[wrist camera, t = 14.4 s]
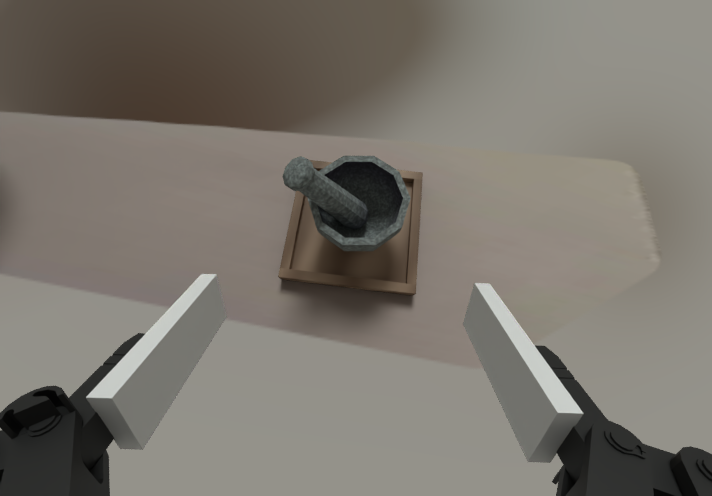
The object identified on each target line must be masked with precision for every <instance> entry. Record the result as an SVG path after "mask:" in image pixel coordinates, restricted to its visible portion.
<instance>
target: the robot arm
mask: <svg viewBox="0 0 712 496" xmlns="http://www.w3.org/2000/svg"><path fill="white" fill-rule="evenodd" d="M226 317H227V314H226V310H225V306H224V302H223V298H222V294H221V290H220V286H219V282H218V277H217V274H201V275H200V276H199V277H198V278H197V280H196V281H195V282H194V283H193V284H192V285H191V286H190V287H189V288H188V289H187V290H186V291H185V292H184V293H183V294H182V296H181V297H180V298H179V299H178V300H177V301H176V302H175V303H174V304H173V305H172V306H171V307H170V308H169V309H168V310H167V312H166V313H165V314H164V315H163V316H162V317H161V318H160V319H159V320H158V321H157V322H156V323H155V324H154V325H153V326H152V328H151V329H150V330H149V331H148V332H147V333H146V334H141V333H138V334H137V335H135V336H134V337H132V338H130V339H129V340H127V341H126V342H124V343H123V344H122V345H121V346H120V347H119V348H118V349H117V350H116V351H115V352H114V353H113V355H112V356H110V357H109V358H108V359H107V360H106V361H105V362H104V364H103V366H100V367H99V368H98V369H97V370H96V371H95V372H94V373H93V374H92V375H91V376H90V377H89V378H88V379H87V381H85V382H84V383H83V384H82V385H81V386H80V387H79V388H78V389H77V390H76V391H75V392H74V393H73V394H72V396H70V397H69V398H68V397H67V395H66V394H65V393H64V391H63V390H62V388H59V387H57V386H46V387H43V388H40V389H36V390H33V391H31V392H29V393H27V394H25V395H23V396H21V397H20V398H18V399H17V400H15V401H14V402H12V403H11V404H9V405H8V406H7V407H6V408H5V409H4V410H3V411H2V412H1V413H0V428H1V429H2V431H0V496H110V488H109V456H108V453H107V451H106V449H107V447H108V446H109V444H110V443H111V442H112V440H113V439H114V440H115V442H116V443H117V445H118V446H119V448H120V449H143V448H144V447H145V445H146V443H147V442H148V440H149V439H150V437H151V436H152V434H153V433H154V431H155V429H156V428H157V426H158V425H159V423H160V421H161V420H162V418H163V417H164V415H165V413H166V412H167V410H168V409H169V407H170V405H171V404H172V402H173V401H174V399H175V398H176V396H177V395H178V393H179V391H180V390H181V388H182V387H183V385H184V383H185V382H186V380H187V379H188V377H189V375H190V374H191V372H192V371H193V369H194V367H195V366H196V364H197V363H198V361H199V360H200V358H201V357H202V355H203V353H204V352H205V350H206V349H207V347H208V345H209V344H210V342H211V341H212V339H213V337H214V336H215V334H216V333H217V331H218V330H219V328H220V326H221V325H222V323H223V322H224V320H225V319H226ZM463 325H464V327H465V329H466V331H467V333H468V336H469V338H470V340H471V342H472V344H473V346H474V348H475V350H476V353H477V355H478V357H479V359H480V361H481V363H482V365H483V368H484V370H485V372H486V374H487V376H488V378H489V380H490V382H491V385H492V387H493V389H494V391H495V393H496V395H497V397H498V400H499V402H500V404H501V406H502V408H503V410H504V412H505V414H506V417H507V419H508V421H509V423H510V425H511V427H512V429H513V431H514V433H515V436H516V438H517V440H518V442H519V444H520V446H521V449H522V451H523V453H524V455H525V457H526V459H527V461H528V462H549V463H550V462H551V461H552V459H553V458H554V456H555V455H556V453H557V454H558V456H559V457H560V459H561V461H562V463H563V464H564V465H563V466H562V468H561V469H560V471H559V472H558V473H557V474H556V476H555V477H554V479H553V481H552V482H553V483H554V484H557V482H558V481H559V482H558V488H557V494H556V496H712V454H710V453H708V452H706V451H704V450H701V449H698V448H693V447H683V448H682V449H681V450H680V451H679V452H678V453H677V454H672V453H669V452H666V451H663V450H660V449H657V448H654V447H651V446H647V445H645V444H642V442H641V441H640V440H639V439H637V437H636V436H634V435H633V434H632V433H631V432H630V431H628V430H627V429H625V428H623V427H622V426H621V425H618V424H616V423H613V422H611V421H608V420H607V419H606V417H605V416H604V415H603V414H602V412H601V411H600V410H599V409H598V407H597V406H596V405H595V403H594V402H593V401H592V400H591V398H590V397H589V396H588V394H587V393H586V392H585V391H584V389H583V388H582V387H581V385H580V384H579V383H578V382H577V381H576V380H575V379H574V377H573V375H572V374H571V373H570V371H569V370H567V368H566V366H565V365H564V364H563V363H562V362H561V360H560V359H559V357H558V356H557V355H555V354H554V353H553V352H552V351H550V350H549V349H548V348H547V347H545V346H534V344H533V343H532V341H531V340H530V339H529V337H528V336H527V335H526V333H525V332H524V330H523V329H522V328H521V326H520V325H519V324H518V322H517V321H516V319H515V318H514V317H513V315H512V314H511V312H510V311H509V310H508V308H507V307H506V306H505V304H504V303H503V301H502V300H501V299H500V297H499V296H498V295H497V293H496V292H495V290H494V289H493V288H492V286H491V285H490V283H474V287H473V290H472V294H471V297H470V301H469V304H468V308H467V312H466V315H465V319H464V322H463Z"/></svg>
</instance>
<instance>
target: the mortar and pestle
mask: <svg viewBox="0 0 712 496" xmlns="http://www.w3.org/2000/svg"><path fill="white" fill-rule="evenodd" d="M283 179H284V184H285V185H286V186H287V187H289V188H291V189H292V190H294V191H300V192H301V193H302V194H303V195H305V196H306V197H307V198H308V202H309V205H310V208H311V212H312V215H313V218H314V221H315V225H316V228H317V231H318V232H319V233H320V234H321V235H322V236H323V237H325V238H326V239H328V240H329V241H330V242H332V243H333V244H335V245H336V246H338V247H339V248H340V249H342V250H343V251H374V250H376V249H377V248H378V247H380V246H381V245H383V244H384V243H386V242H387V241H388V240H390V239H391V238H393V237H394V236H395V235H397V234H398V233H399V232H400V230H401V228H402V226H403V222H404V219H405V216H406V212H407V209H408V205H409V202H410V199H411V198H410V196H409V193H408V191H407V188H406V186H405V184H404V181H403V179H402V177H401V174H400V172H399V171H397V170H396V169H394V168H393V167H391V166H389V165H388V164H386V163H385V162H383V161H381V160H380V159H378V158H377V157H375V156H343V157H341V158H339V159H338V160H336V161H334V162H333V163H331V164H329V165H328V166H326V167H325V168H323V169H321V170H320V171H317V170H316V169H314V168H313V164H312V162H311V161H310V160H308V159H306V158H304V157H301V156H300V157H297V158H295V159H292V160H291V162H290V163H289V164H288V165H287V166H286V168H285V171H284V174H283Z"/></svg>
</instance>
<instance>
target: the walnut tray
mask: <svg viewBox="0 0 712 496" xmlns="http://www.w3.org/2000/svg"><path fill="white" fill-rule="evenodd" d="M310 161H311V162H312V164H313V168H314V169H316V170H317V171H320V170H321V169H323V168H325V167H326V166H328V165H329V164H331V162H322V161H313V160H310ZM397 171H399V172H400V174H401V177H402V179H403V181H404V184H405V186H406V188H407V191H408V193H409V196H410V198H411V199H410V202H409V205H408V209H407V212H406V216H405V219H404V222H403V226H402V228H401V230H400V232H399V233H398V234H397V235H395V236H394V237H393V238H391V239H390V240H388V241H387V242H386V243H384V244H383V245H381V246H380V247H378V248H377V249H376V250H374V251H343V250H342V249H340V248H339V247H338V246H336V245H335V244H333V243H332V242H330V241H329V240H328V239H326V238H325V237H323V236H322V235H321V234H320V233H319V232H318V231H317V228H316V225H315V221H314V218H313V215H312V212H311V208H310V205H309V202H308V198H307V197H306V196H305V195H303V194H302V193H301V192H300V191H296V194H295V199H294V204H293V208H292V213H291V218H290V223H289V227H288V232H287V237H286V242H285V247H284V251H283V256H282V261H281V266H280V271H279V275H278V277H279V278H280V279H283V280H291V281H299V282H307V283H315V284H323V285H331V286H339V287H347V288H356V289H364V290H372V291H380V292H388V293H396V294H404V295H412V296H413V295H414V294H416V279H417V261H418V244H419V227H420V209H421V192H422V175H423V173H421V172H412V171H403V170H397Z"/></svg>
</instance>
